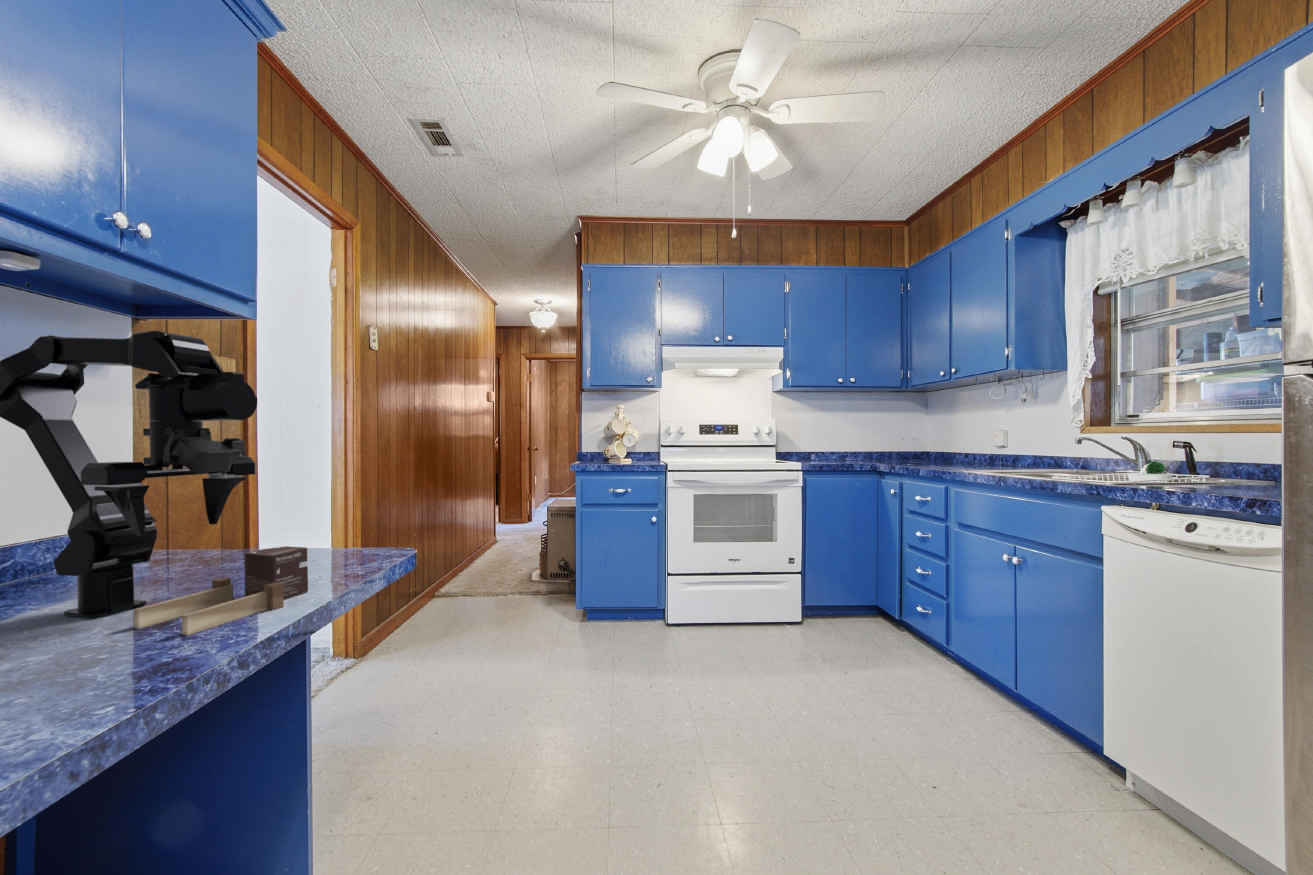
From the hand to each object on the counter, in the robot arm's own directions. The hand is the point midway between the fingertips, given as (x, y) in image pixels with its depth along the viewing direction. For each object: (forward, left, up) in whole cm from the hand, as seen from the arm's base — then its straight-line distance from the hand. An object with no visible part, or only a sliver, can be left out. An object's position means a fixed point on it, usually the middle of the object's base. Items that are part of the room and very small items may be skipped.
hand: (178, 529), depth 77 cm
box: (+6, +10, -12) cm, 17 cm away
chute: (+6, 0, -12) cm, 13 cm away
